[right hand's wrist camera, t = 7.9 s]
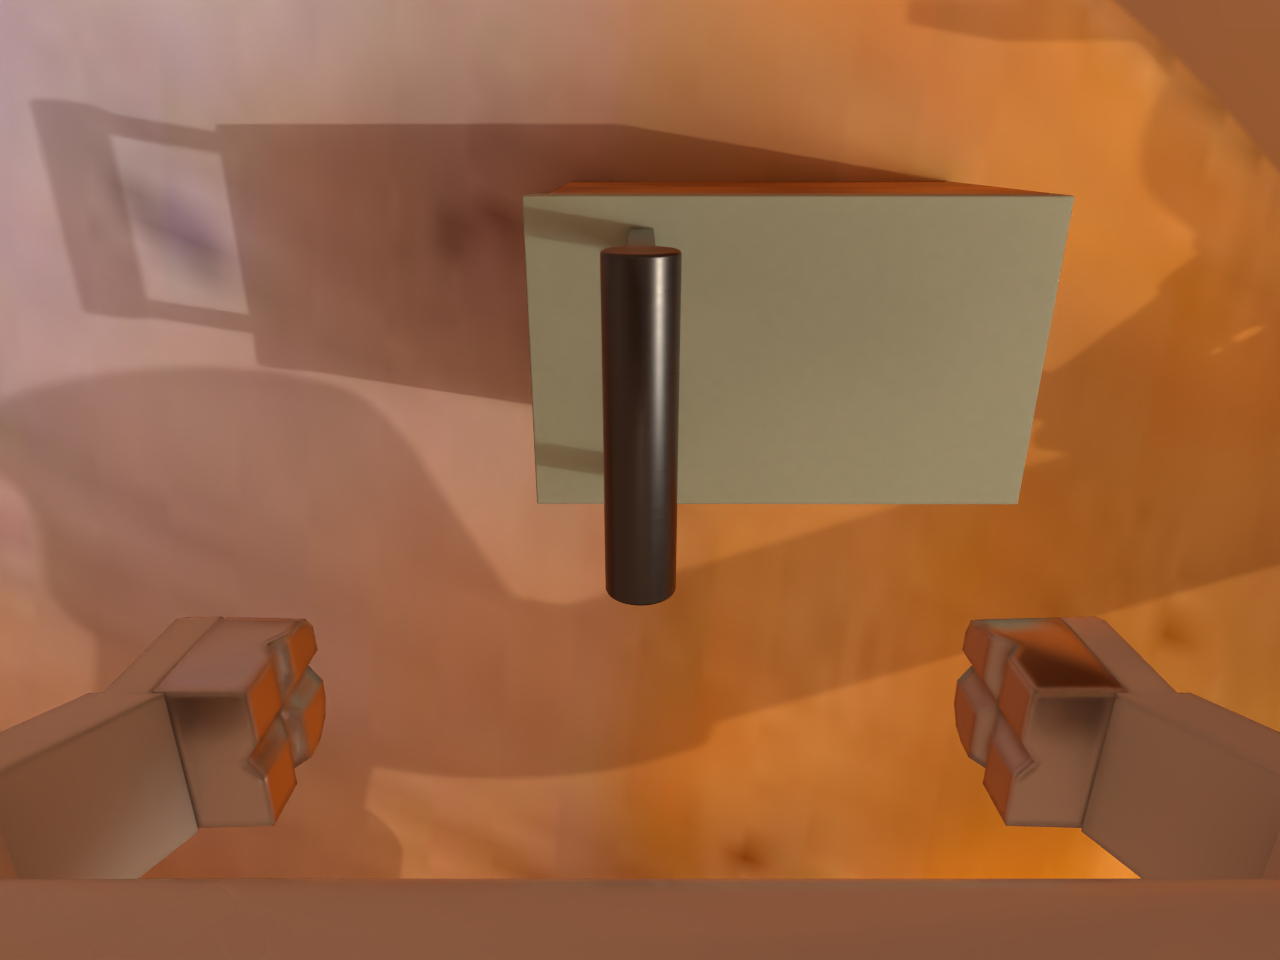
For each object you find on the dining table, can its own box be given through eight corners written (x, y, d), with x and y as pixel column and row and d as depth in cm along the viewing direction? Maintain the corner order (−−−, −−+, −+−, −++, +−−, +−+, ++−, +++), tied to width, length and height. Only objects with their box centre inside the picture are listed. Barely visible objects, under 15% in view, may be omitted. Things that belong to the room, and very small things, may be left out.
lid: (541, 489, 28) (499, 632, 20) (527, 193, 24) (469, 216, 16) (1002, 489, 28) (1152, 633, 20) (1054, 193, 24) (1264, 217, 16)
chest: (576, 412, 36) (558, 488, 28) (569, 181, 32) (546, 192, 24) (921, 412, 36) (1001, 489, 28) (952, 181, 32) (1053, 193, 24)
